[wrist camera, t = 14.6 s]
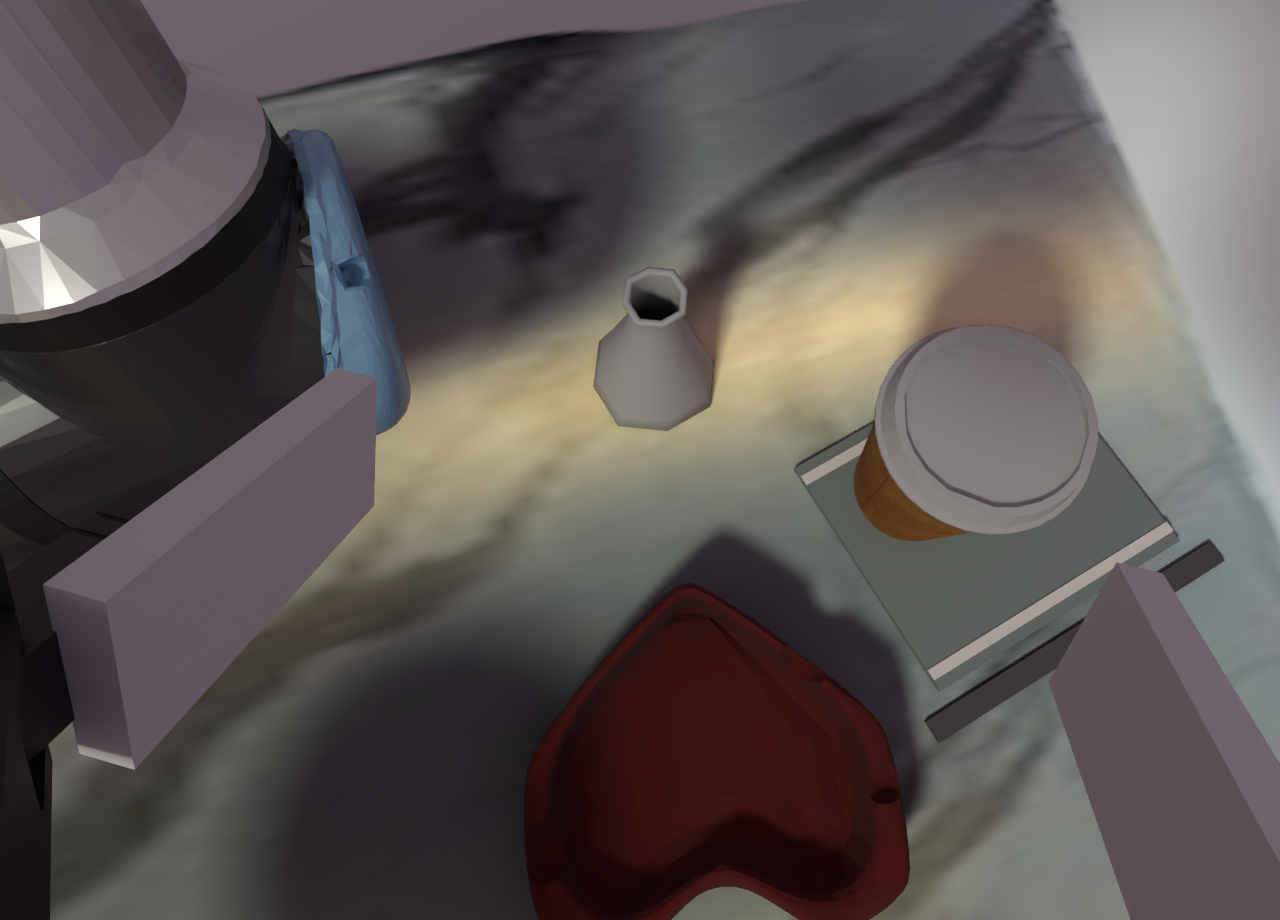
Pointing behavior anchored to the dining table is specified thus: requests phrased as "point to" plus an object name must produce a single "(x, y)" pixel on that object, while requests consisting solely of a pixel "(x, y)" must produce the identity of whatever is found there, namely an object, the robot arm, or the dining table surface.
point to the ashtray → (712, 779)
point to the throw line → (1049, 656)
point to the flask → (653, 357)
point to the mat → (988, 562)
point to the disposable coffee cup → (976, 437)
